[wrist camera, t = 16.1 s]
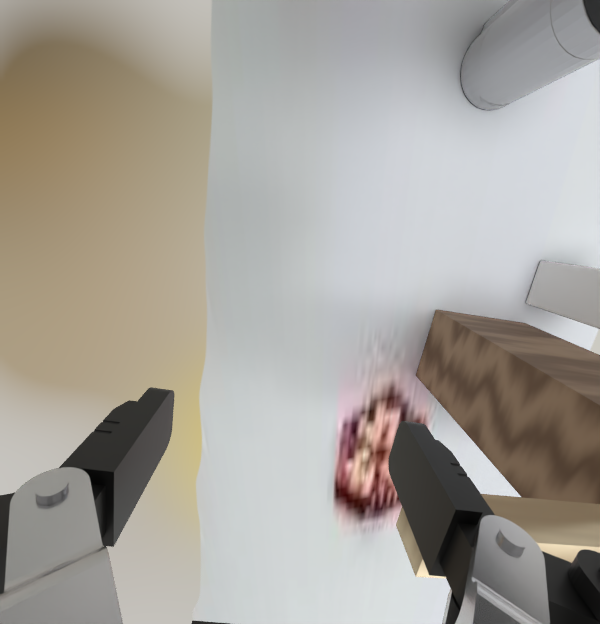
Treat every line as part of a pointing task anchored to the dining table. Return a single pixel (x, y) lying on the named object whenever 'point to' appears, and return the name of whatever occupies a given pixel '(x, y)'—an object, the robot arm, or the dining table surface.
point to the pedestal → (520, 401)
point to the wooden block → (530, 526)
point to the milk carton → (567, 291)
